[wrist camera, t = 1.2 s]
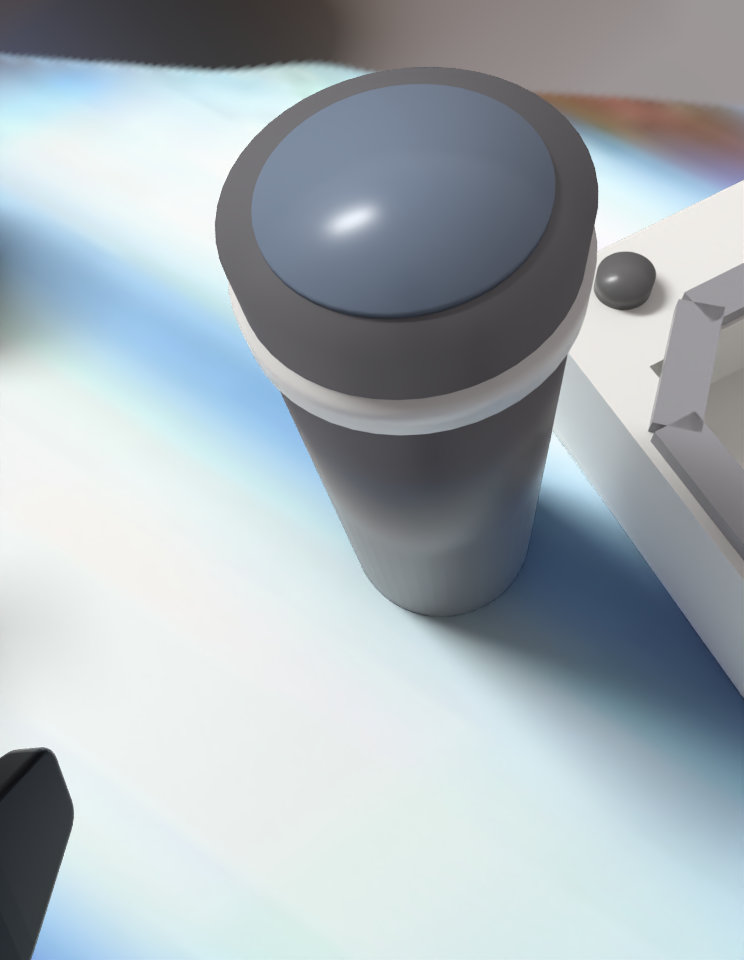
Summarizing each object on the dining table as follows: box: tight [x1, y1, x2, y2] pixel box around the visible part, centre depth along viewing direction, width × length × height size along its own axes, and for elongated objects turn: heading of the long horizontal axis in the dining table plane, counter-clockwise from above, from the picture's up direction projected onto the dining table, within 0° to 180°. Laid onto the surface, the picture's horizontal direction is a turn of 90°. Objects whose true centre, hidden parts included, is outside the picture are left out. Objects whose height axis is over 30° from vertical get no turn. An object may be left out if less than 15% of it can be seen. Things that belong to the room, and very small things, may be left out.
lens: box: [215, 67, 598, 616], centre depth 17 cm, size 6×6×14 cm
